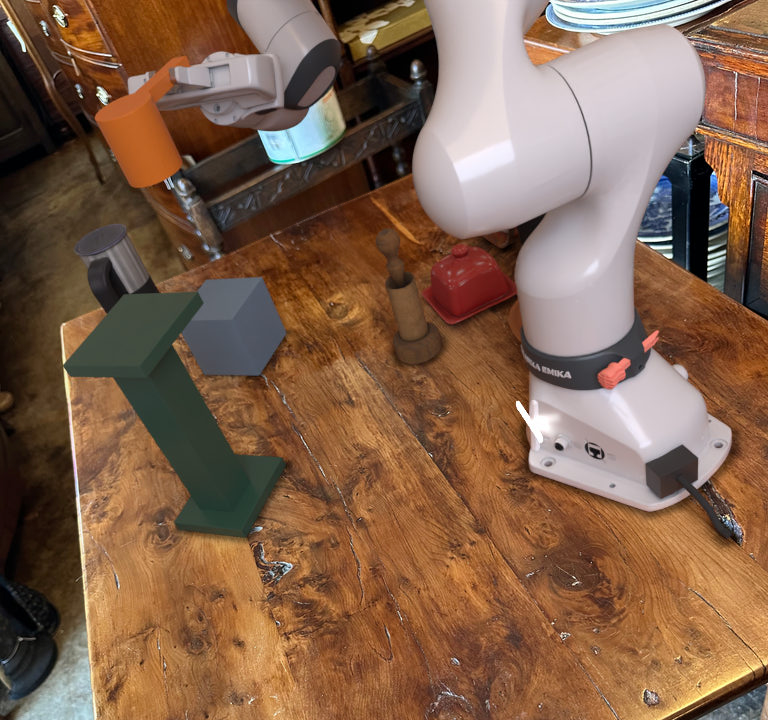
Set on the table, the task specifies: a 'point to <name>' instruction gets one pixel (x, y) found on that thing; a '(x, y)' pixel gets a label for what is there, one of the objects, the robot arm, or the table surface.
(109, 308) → the milk frother
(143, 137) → the measuring cup
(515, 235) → the tin
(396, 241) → the mortar and pestle
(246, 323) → the slate grey cube
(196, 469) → the shelf stand
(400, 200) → the table surface
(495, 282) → the butter dish
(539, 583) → the table surface
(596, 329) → the robot arm
